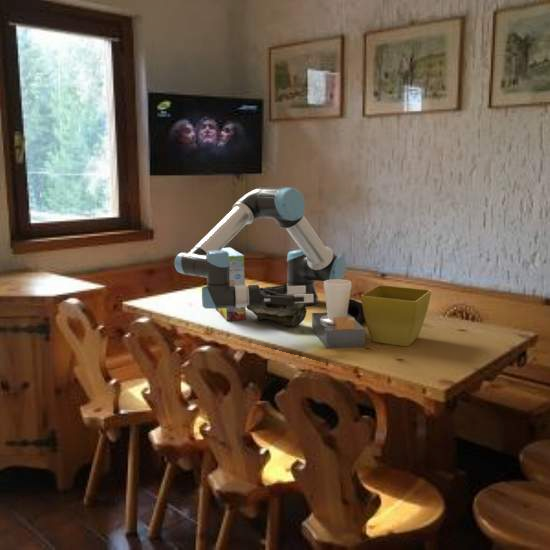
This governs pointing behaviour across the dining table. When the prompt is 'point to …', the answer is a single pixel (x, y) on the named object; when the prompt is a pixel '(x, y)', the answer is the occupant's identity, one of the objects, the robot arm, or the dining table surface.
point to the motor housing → (338, 331)
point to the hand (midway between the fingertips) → (309, 293)
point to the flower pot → (395, 313)
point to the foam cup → (337, 297)
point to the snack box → (235, 279)
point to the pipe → (356, 310)
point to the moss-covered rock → (281, 312)
